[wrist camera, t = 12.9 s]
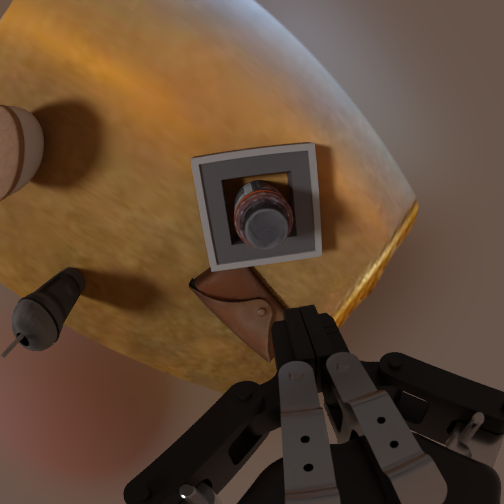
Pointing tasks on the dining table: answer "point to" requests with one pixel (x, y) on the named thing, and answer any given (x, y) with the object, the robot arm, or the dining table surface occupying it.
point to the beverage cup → (45, 311)
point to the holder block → (255, 163)
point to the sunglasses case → (241, 305)
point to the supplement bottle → (262, 215)
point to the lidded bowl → (18, 149)
